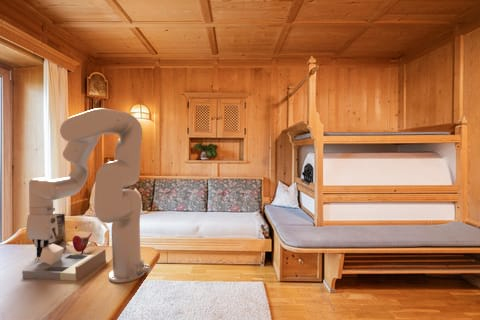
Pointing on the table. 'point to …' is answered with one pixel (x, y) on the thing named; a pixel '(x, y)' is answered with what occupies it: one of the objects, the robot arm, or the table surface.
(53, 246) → the cream block
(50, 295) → the table surface
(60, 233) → the coffee box
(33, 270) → the board
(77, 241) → the decorative bird figurine
